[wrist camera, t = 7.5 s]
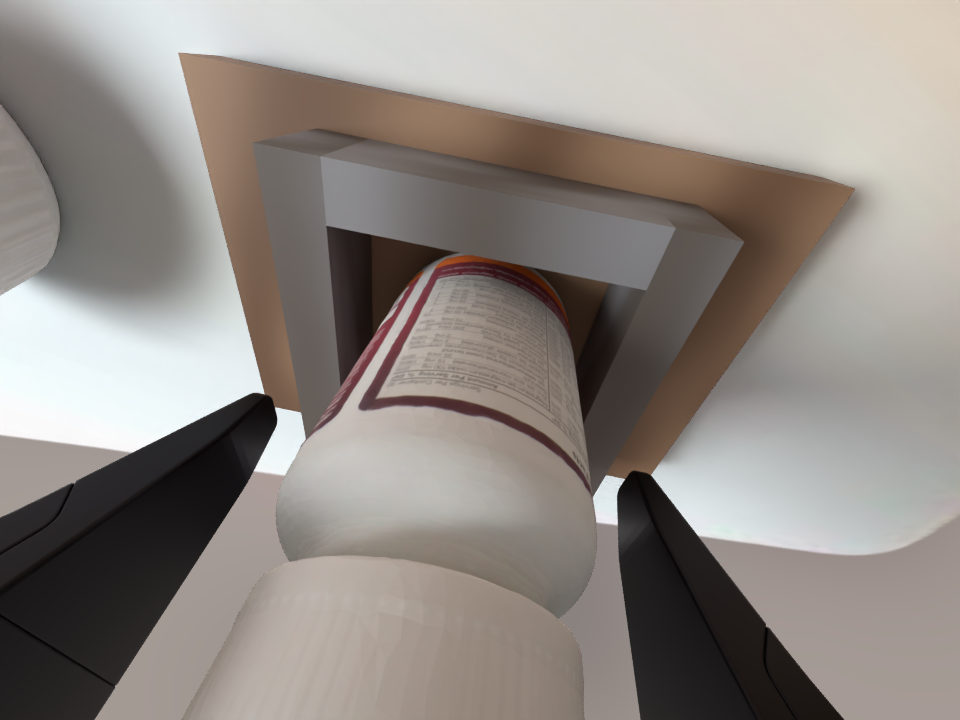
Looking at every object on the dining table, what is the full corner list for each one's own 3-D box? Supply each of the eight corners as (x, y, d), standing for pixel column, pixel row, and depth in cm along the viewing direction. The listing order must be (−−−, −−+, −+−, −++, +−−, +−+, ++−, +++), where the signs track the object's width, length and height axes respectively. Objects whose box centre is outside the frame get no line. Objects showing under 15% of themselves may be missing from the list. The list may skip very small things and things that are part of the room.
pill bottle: (448, 407, 16) (338, 813, 7) (366, 284, 13) (1, 721, 4) (591, 367, 14) (685, 870, 5) (532, 211, 11) (510, 771, 2)
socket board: (821, 176, 11) (956, 224, 7) (638, 457, 19) (661, 546, 15) (217, 55, 11) (63, 44, 8) (284, 385, 19) (225, 455, 15)
